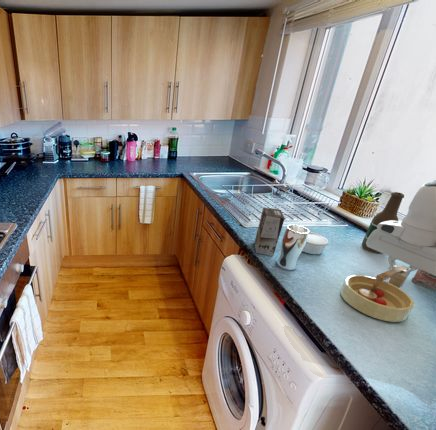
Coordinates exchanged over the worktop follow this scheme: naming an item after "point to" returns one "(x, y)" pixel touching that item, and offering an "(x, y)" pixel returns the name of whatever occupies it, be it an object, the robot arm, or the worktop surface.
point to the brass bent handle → (392, 274)
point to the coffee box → (269, 231)
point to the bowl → (394, 297)
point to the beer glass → (292, 246)
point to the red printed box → (425, 279)
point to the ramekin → (315, 243)
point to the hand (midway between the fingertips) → (397, 272)
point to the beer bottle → (384, 217)
